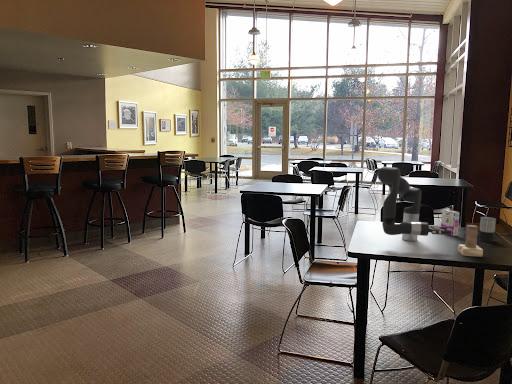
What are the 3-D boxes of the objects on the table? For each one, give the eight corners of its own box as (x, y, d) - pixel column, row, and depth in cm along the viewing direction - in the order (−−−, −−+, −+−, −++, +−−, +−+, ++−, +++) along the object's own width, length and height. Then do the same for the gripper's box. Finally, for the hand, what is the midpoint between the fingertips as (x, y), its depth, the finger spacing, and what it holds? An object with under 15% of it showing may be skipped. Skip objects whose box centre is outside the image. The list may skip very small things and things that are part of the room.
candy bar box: (458, 236, 281) (460, 212, 279) (452, 236, 279) (454, 212, 277) (445, 232, 291) (447, 209, 289) (439, 232, 289) (441, 209, 287)
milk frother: (497, 242, 265) (499, 219, 264) (472, 241, 265) (474, 218, 264) (485, 237, 279) (487, 215, 278) (461, 236, 279) (463, 214, 278)
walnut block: (464, 245, 237) (466, 224, 235) (473, 246, 236) (475, 225, 235) (467, 247, 232) (469, 226, 231) (476, 248, 232) (478, 227, 230)
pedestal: (457, 250, 241) (458, 244, 240) (476, 252, 239) (477, 245, 238) (462, 255, 231) (463, 248, 230) (482, 256, 229) (483, 249, 228)
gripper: (422, 224, 231) (453, 226, 228) (416, 220, 245) (446, 221, 242) (421, 237, 232) (451, 239, 229) (415, 232, 246) (445, 234, 243)
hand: (448, 230), depth 236 cm, fingers open, 8 cm apart
